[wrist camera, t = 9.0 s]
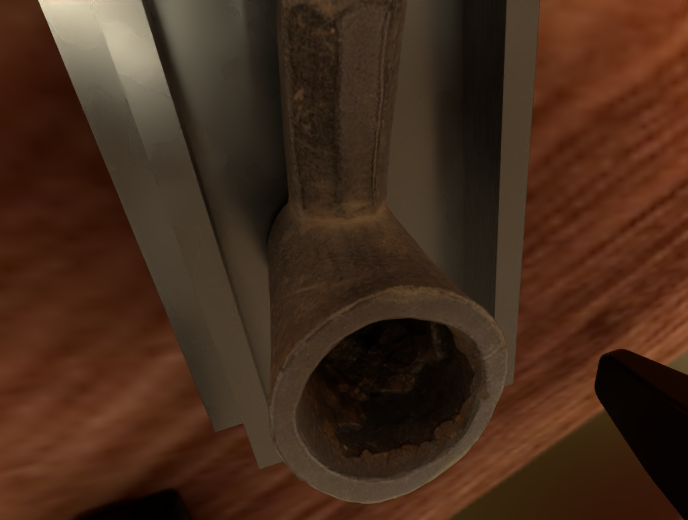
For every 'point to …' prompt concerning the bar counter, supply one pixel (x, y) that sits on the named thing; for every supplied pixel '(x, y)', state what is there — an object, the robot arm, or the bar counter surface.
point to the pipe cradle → (270, 165)
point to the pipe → (362, 278)
